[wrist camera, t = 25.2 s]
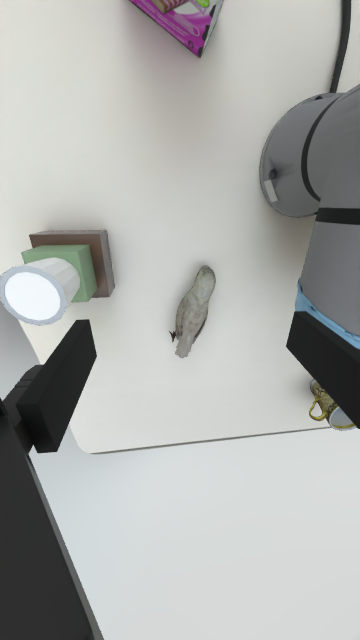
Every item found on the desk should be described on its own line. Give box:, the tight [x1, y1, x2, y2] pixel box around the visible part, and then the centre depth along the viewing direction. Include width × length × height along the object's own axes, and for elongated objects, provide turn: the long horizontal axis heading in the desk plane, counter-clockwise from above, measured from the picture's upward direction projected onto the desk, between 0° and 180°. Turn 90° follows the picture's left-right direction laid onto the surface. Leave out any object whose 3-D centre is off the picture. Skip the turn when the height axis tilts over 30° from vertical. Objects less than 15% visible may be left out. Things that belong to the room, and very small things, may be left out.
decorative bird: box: [170, 266, 216, 358], centre depth 42 cm, size 5×16×8 cm, turn 161°
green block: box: [21, 245, 97, 302], centre depth 33 cm, size 7×7×6 cm
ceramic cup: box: [309, 379, 357, 431], centre depth 53 cm, size 13×10×10 cm
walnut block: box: [29, 230, 115, 298], centre depth 38 cm, size 10×10×5 cm
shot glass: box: [0, 257, 80, 326], centre depth 27 cm, size 7×7×7 cm
